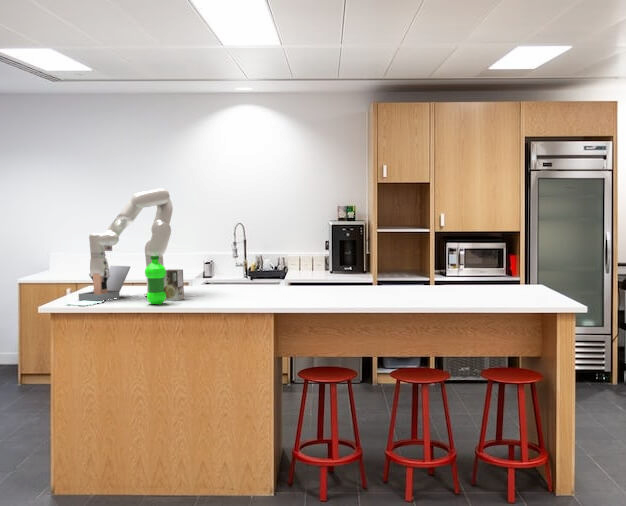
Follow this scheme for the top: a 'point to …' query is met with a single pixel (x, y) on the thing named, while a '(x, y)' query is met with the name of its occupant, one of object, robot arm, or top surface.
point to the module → (98, 285)
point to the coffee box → (174, 284)
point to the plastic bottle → (155, 281)
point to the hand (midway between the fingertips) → (100, 288)
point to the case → (109, 285)
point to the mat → (84, 303)
